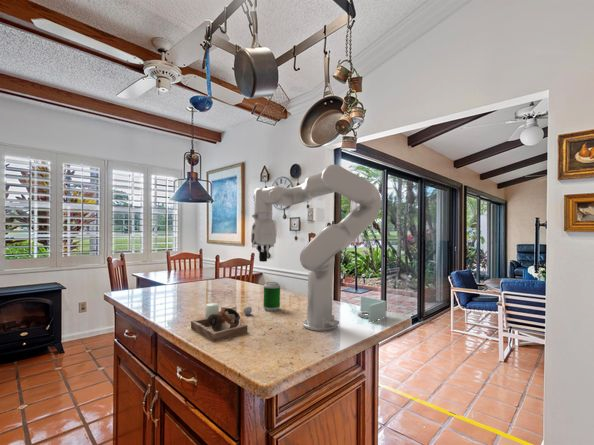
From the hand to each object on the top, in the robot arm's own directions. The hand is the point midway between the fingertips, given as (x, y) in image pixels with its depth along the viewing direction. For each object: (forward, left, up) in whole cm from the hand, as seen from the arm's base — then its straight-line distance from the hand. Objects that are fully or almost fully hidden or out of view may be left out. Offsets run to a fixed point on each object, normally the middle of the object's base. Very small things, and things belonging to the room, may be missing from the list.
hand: (263, 261), depth 128 cm
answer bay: (-3, +22, -23) cm, 32 cm away
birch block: (+9, +11, -23) cm, 27 cm away
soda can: (+7, -10, -24) cm, 27 cm away
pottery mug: (-3, +20, -24) cm, 31 cm away
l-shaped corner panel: (-28, -34, -24) cm, 50 cm away
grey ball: (+7, +3, -23) cm, 24 cm away
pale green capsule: (+10, +18, -23) cm, 31 cm away
